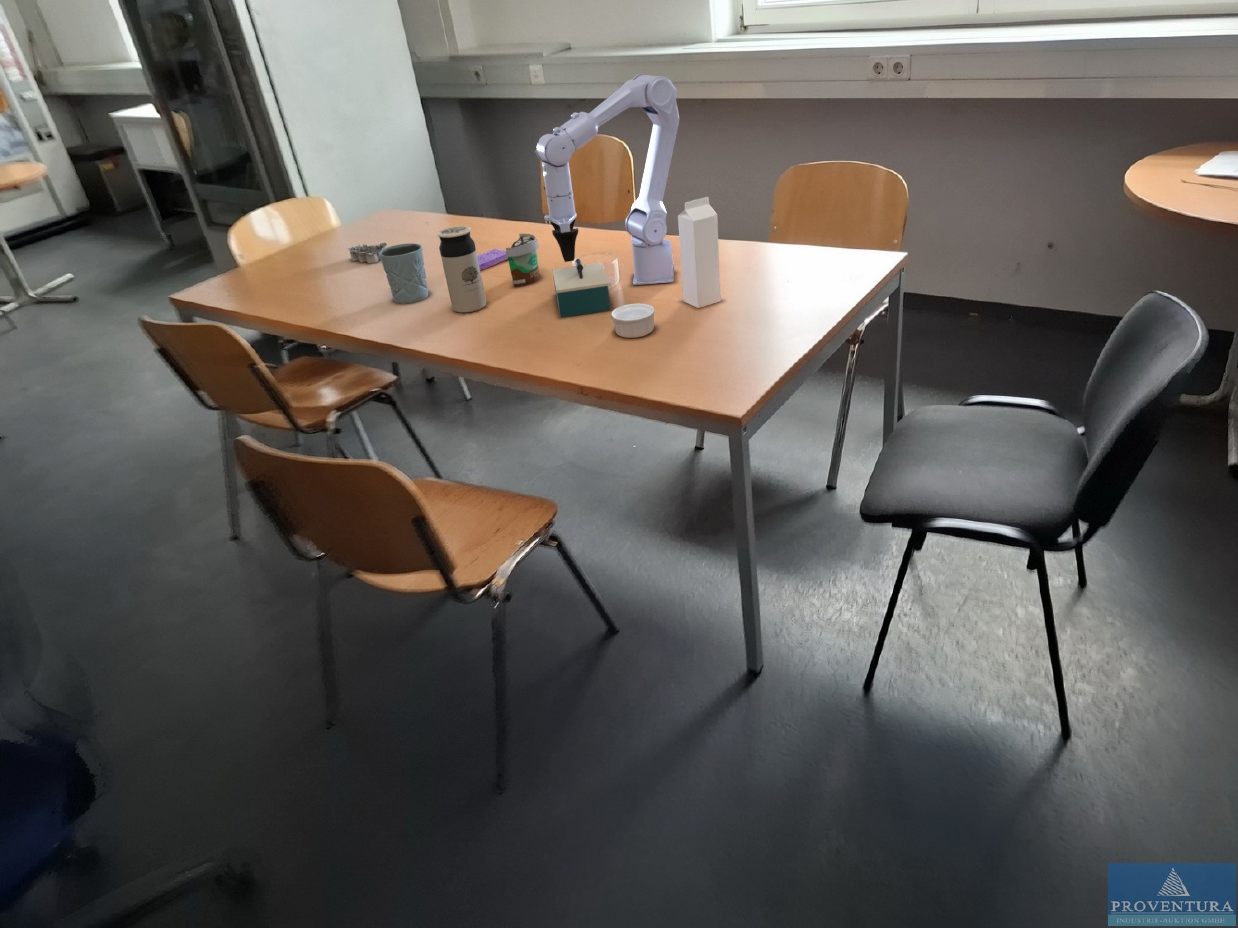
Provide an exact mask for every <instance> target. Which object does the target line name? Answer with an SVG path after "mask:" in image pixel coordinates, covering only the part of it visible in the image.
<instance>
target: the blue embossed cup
mask: <svg viewBox="0 0 1238 928" xmlns="http://www.w3.org/2000/svg"><path fill="white" fill-rule="evenodd" d="M379 256H380V261H381V264H382V267H383V270H384V272H385V274H386V275H385V276H386V279H387V280H386V281H387V282H388V285H389V287H390V293H391V296H392V299H393V301H394V303H395V304H396V303H397V304H399V305H400V304H402V305H404V304H405V305H407V304H414V303H417V302H420V301H423V300H425V299H426V298H428V296H429V289H428V288H429V287H428V282H427V275H426V268H425V261H424V252H423V246H422V245H421V244H420V243H414V242H413V243H400V244H395V245H391V246H388V247H387V246H386V247H385V249H383V250H381V251H380V252H379Z"/></svg>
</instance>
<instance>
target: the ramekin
mask: <svg viewBox="0 0 1238 928" xmlns="http://www.w3.org/2000/svg"><path fill="white" fill-rule="evenodd" d="M610 315H611V319H612V321H613V325H614V331H615V333H616V335H618V337H622V338H626V339H635V338H636V339H637V338H642V337H645V336H648V335H649V334H651V333H652V332H653V330H654V328H655V307H653V306H652V305H651V304H648V303H629V304H624V305H621V306H618V307H616V308H615V309H613V310H612V311H611V313H610Z"/></svg>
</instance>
